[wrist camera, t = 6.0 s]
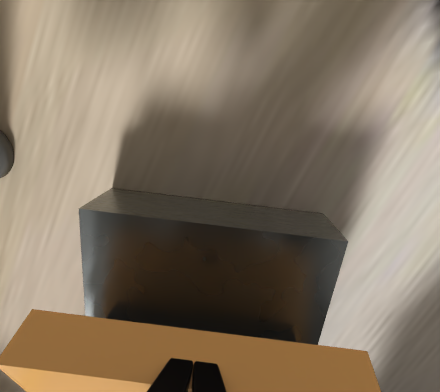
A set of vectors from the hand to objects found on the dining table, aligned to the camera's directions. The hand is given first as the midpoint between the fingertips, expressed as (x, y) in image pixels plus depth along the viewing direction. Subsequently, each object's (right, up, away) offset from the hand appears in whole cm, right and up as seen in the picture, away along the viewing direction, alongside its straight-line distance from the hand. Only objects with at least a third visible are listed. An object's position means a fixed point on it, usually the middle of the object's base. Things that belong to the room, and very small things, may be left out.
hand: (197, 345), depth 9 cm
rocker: (0, -2, +1) cm, 3 cm away
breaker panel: (0, -1, +6) cm, 6 cm away
